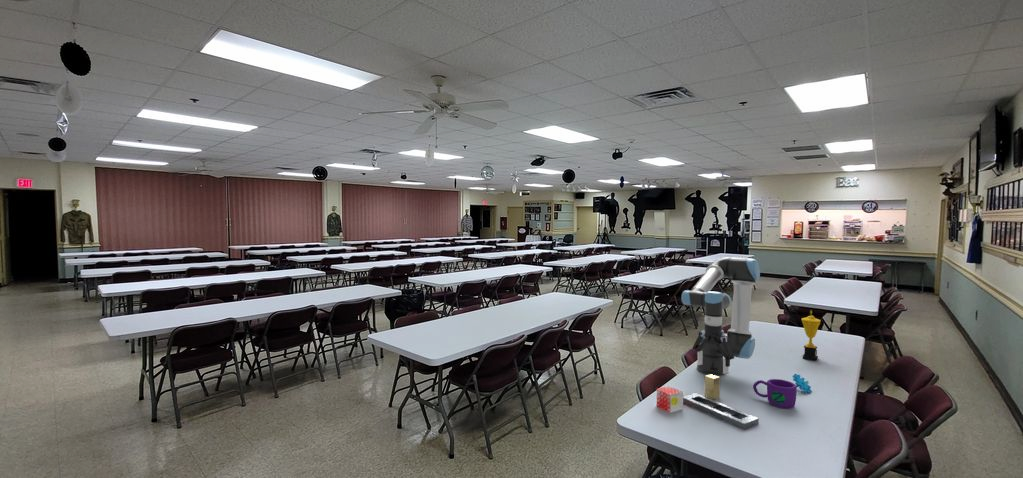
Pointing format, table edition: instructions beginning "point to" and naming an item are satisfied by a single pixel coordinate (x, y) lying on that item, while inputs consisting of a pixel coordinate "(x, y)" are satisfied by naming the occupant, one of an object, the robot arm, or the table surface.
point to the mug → (779, 392)
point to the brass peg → (712, 386)
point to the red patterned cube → (670, 399)
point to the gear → (801, 383)
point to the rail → (728, 415)
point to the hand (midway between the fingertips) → (712, 368)
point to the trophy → (810, 336)
